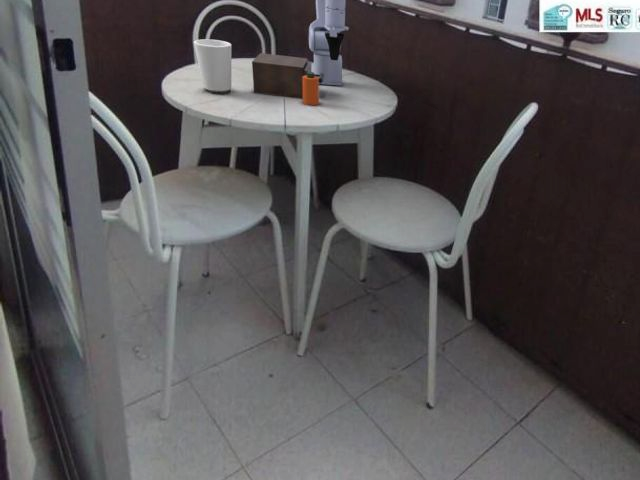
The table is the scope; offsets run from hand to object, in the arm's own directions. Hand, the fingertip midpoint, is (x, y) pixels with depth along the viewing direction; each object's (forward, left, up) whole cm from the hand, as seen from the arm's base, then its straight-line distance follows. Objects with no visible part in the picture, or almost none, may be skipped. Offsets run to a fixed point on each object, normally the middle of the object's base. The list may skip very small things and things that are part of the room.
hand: (334, 59), depth 155 cm
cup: (+34, +3, -11) cm, 36 cm away
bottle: (+8, +10, -10) cm, 17 cm away
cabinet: (+16, -3, -10) cm, 19 cm away
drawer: (+12, -2, -10) cm, 15 cm away
